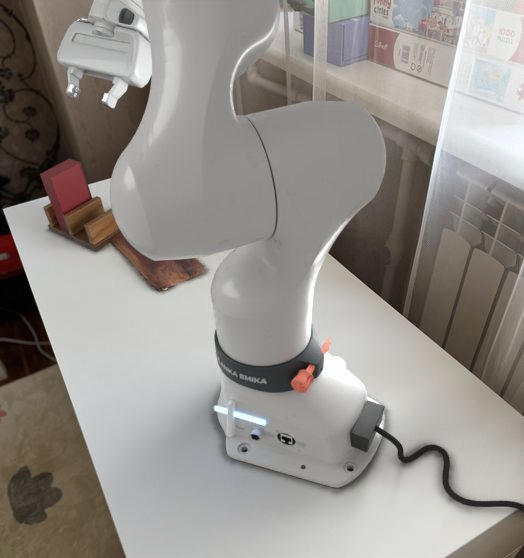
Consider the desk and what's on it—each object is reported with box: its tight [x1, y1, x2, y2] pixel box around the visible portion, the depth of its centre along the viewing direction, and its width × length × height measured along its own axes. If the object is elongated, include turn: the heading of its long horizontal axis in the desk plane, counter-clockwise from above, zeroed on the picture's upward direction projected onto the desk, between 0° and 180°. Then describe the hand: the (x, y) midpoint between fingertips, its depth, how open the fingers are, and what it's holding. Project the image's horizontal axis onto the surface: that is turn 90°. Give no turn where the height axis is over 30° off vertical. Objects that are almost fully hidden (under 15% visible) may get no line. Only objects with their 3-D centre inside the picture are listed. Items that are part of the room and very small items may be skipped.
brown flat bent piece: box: [110, 232, 206, 292], centre depth 100 cm, size 26×2×10 cm
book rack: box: [42, 195, 121, 253], centre depth 104 cm, size 14×9×5 cm, turn 54°
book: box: [39, 157, 93, 229], centre depth 103 cm, size 3×7×11 cm, turn 144°
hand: (89, 101), depth 93 cm, fingers open, 8 cm apart
